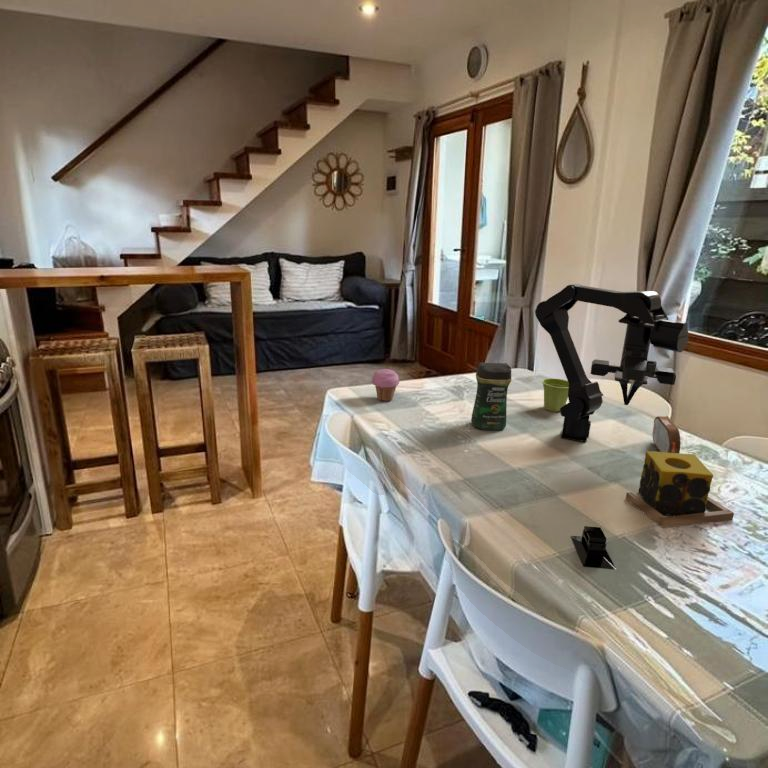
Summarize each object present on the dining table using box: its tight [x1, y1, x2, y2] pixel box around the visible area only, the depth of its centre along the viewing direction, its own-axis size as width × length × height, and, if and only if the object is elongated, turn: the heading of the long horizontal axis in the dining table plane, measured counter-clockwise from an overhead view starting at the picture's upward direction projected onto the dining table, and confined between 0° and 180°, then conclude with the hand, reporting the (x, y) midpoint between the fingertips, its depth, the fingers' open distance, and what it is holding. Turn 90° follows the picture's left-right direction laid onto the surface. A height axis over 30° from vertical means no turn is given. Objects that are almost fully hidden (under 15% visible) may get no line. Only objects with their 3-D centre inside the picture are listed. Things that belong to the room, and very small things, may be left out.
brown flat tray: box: [625, 491, 735, 528], centre depth 110 cm, size 11×16×2 cm
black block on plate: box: [569, 525, 617, 570], centre depth 95 cm, size 12×7×5 cm, turn 175°
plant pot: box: [541, 377, 569, 413], centre depth 166 cm, size 9×9×9 cm
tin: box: [652, 415, 681, 453], centre depth 137 cm, size 15×3×8 cm, turn 168°
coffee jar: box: [470, 362, 512, 431], centre depth 149 cm, size 10×8×19 cm
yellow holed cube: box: [638, 450, 714, 516], centre depth 111 cm, size 10×10×10 cm
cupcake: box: [371, 368, 400, 402], centre depth 169 cm, size 9×9×10 cm
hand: (626, 404), depth 133 cm, fingers closed
